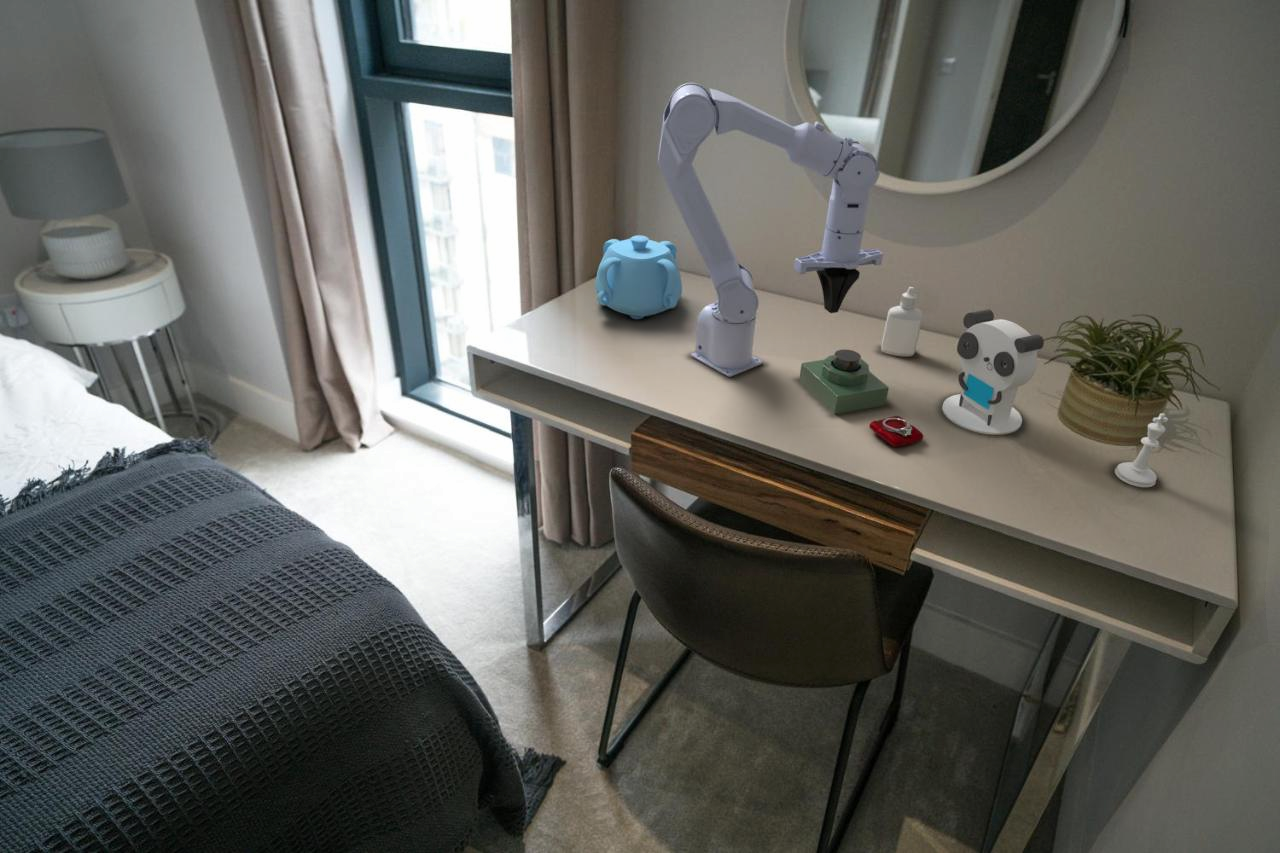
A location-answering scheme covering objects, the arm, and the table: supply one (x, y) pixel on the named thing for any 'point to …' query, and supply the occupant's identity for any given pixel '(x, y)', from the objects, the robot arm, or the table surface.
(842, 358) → the black push button
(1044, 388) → the table surface
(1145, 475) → the chess piece
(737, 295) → the robot arm
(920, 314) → the eye dropper bottle
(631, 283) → the decorative pot
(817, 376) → the green button base
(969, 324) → the panda figurine
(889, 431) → the engagement ring
